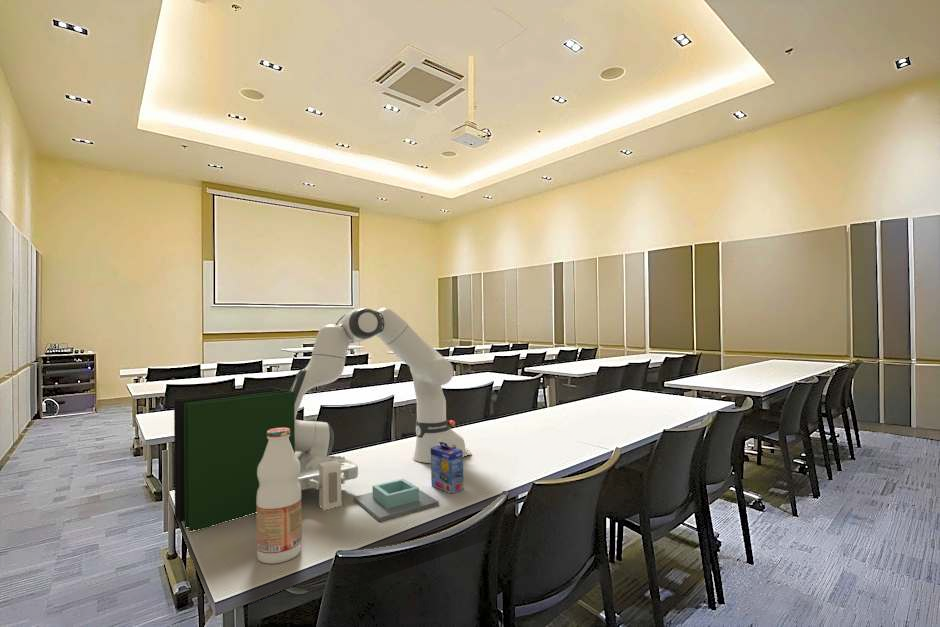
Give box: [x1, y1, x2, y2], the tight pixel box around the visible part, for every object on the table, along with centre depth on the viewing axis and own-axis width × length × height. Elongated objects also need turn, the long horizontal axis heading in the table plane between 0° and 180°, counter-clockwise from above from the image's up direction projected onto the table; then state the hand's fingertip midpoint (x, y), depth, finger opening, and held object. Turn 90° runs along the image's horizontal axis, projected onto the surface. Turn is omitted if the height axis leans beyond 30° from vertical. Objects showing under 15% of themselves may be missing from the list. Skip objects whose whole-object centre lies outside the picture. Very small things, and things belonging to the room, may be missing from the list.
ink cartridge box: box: [430, 442, 465, 494], centre depth 144 cm, size 10×6×14 cm, turn 44°
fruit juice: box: [256, 428, 303, 565], centre depth 104 cm, size 9×9×28 cm
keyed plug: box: [318, 460, 342, 511], centre depth 131 cm, size 5×5×12 cm
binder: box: [173, 386, 296, 532], centre depth 130 cm, size 27×15×32 cm, turn 137°
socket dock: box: [353, 478, 440, 522], centre depth 133 cm, size 18×18×4 cm
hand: (331, 483), depth 130 cm, fingers closed on keyed plug, 5 cm apart
